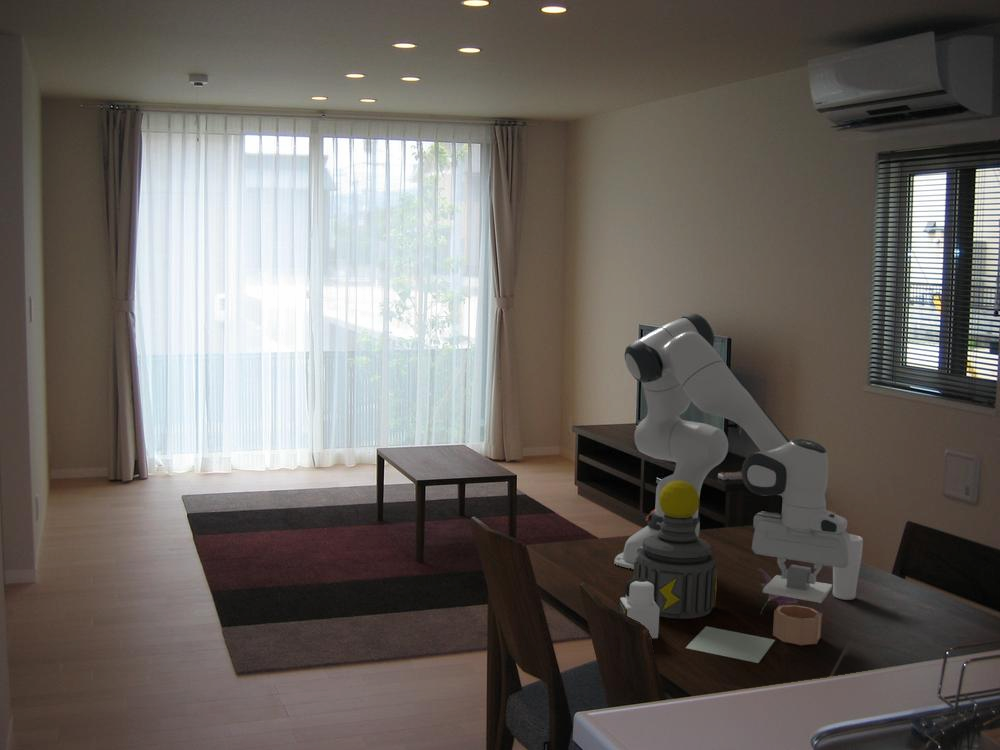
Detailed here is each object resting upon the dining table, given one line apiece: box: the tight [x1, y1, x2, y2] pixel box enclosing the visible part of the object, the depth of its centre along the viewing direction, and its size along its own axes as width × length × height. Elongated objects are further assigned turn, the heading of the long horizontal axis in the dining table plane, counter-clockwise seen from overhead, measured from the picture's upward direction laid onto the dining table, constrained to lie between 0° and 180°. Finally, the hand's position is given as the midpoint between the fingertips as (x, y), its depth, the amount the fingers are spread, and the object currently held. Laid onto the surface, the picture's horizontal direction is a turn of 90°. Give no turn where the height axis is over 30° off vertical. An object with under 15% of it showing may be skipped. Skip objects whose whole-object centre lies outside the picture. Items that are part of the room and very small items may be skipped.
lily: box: [758, 567, 798, 615], centre depth 241 cm, size 12×12×10 cm
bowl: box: [772, 604, 823, 646], centre depth 224 cm, size 9×9×6 cm
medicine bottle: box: [619, 577, 660, 639], centre depth 223 cm, size 7×7×12 cm
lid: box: [762, 564, 833, 604], centre depth 222 cm, size 12×12×5 cm
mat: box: [685, 625, 776, 664], centre depth 219 cm, size 15×15×1 cm
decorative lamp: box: [633, 480, 719, 620], centre depth 240 cm, size 19×19×30 cm
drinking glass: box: [832, 533, 864, 601], centre depth 253 cm, size 7×7×15 cm
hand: (798, 580), depth 223 cm, fingers closed on lid, 4 cm apart
